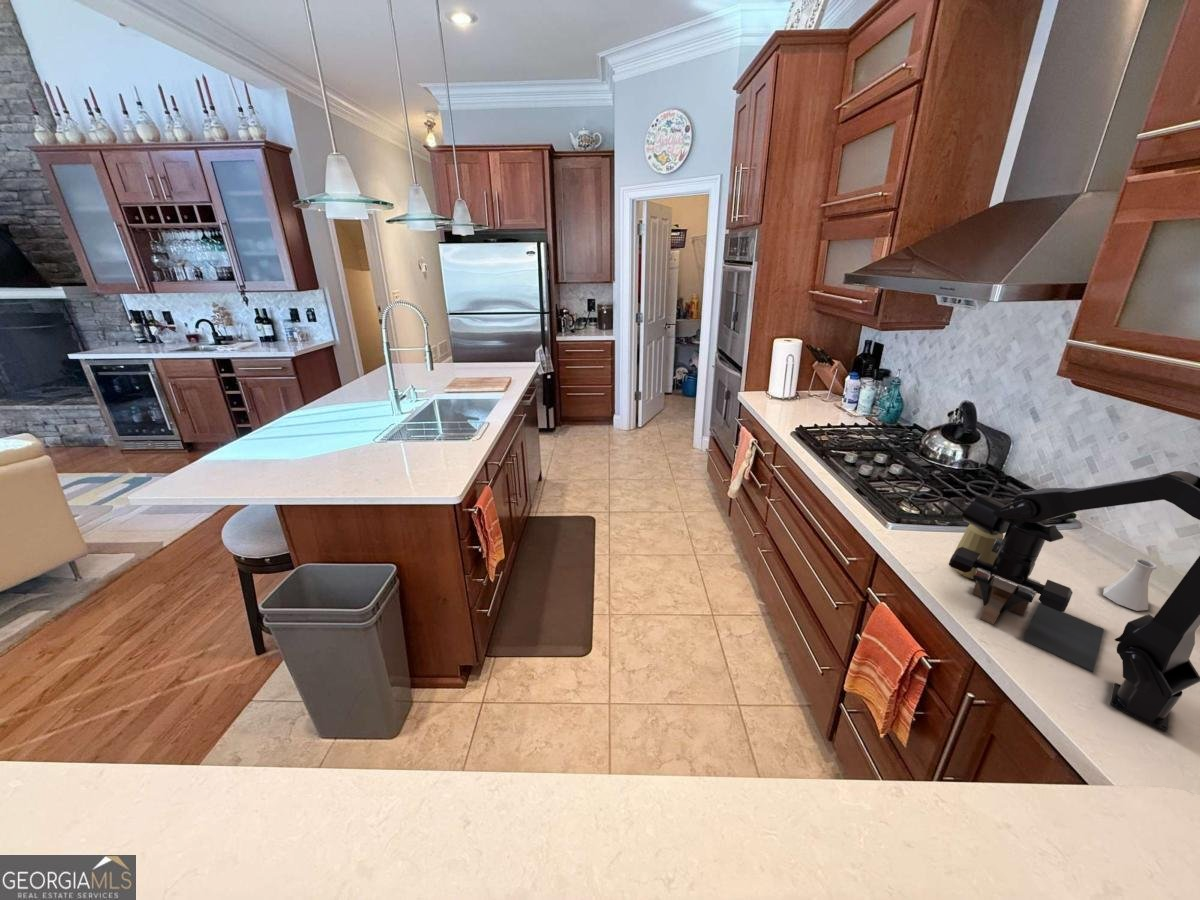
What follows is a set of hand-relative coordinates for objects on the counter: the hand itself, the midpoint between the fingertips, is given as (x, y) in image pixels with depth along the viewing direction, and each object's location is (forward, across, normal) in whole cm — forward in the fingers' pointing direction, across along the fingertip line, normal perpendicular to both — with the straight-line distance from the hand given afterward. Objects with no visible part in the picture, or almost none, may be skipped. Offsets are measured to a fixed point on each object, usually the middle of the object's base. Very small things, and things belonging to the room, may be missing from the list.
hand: (993, 609), depth 99 cm
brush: (+1, 0, -2) cm, 3 cm away
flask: (+1, -18, -28) cm, 33 cm away
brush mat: (+1, -11, -4) cm, 12 cm away
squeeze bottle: (+1, +7, -12) cm, 14 cm away
